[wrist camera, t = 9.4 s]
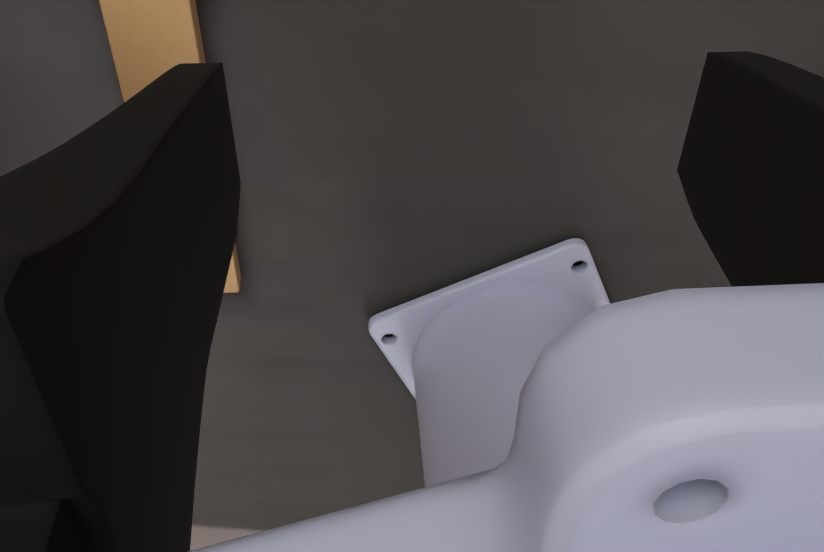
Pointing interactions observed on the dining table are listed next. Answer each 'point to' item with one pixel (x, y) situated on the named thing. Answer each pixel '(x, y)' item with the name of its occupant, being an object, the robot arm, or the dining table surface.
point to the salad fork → (156, 54)
